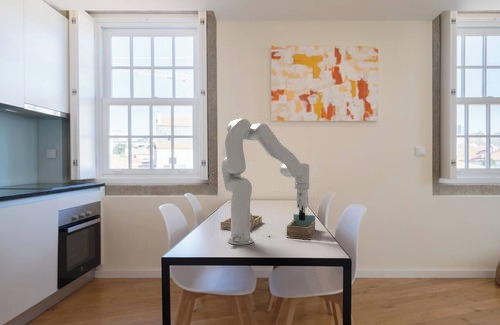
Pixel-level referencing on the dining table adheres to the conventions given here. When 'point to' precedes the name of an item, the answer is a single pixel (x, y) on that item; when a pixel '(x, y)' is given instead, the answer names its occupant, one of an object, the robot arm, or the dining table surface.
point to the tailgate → (304, 223)
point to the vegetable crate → (257, 220)
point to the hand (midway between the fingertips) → (302, 220)
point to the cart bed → (300, 230)
